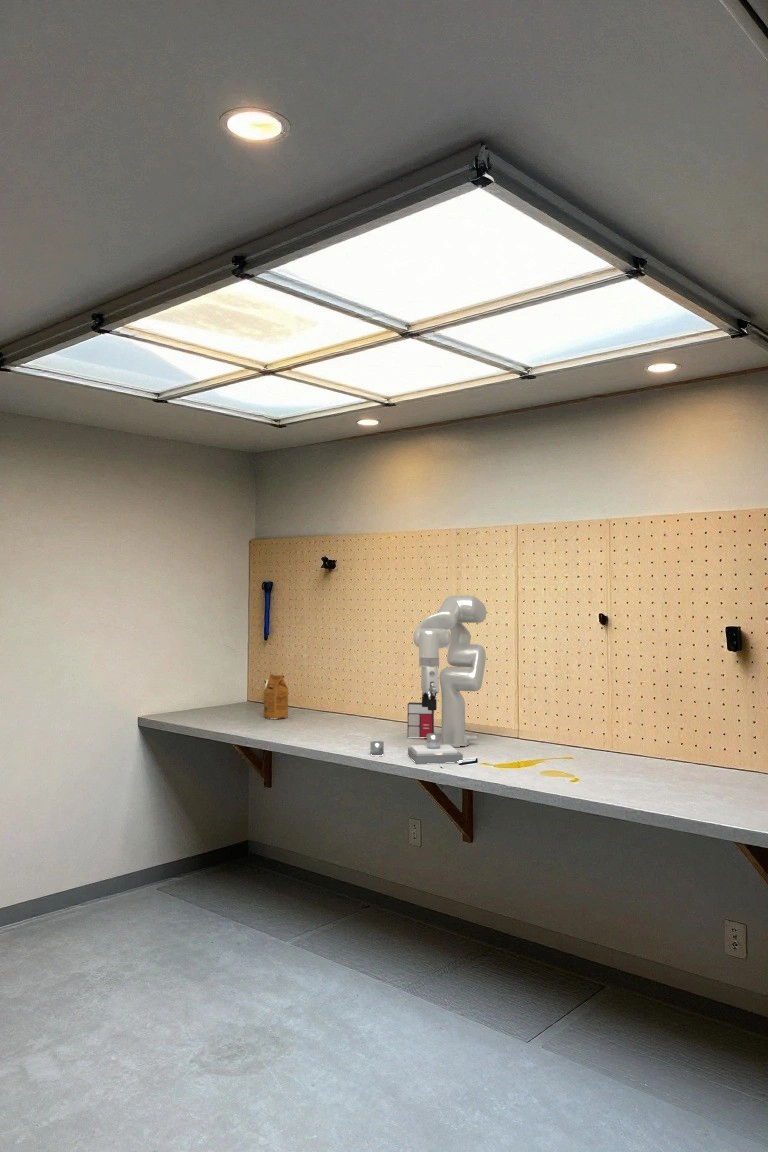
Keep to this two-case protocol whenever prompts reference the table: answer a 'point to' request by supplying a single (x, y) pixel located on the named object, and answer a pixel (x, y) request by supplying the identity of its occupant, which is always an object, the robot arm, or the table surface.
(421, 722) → the grey and red box
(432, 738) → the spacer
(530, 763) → the table surface
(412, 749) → the block
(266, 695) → the coffee package
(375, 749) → the spacer
